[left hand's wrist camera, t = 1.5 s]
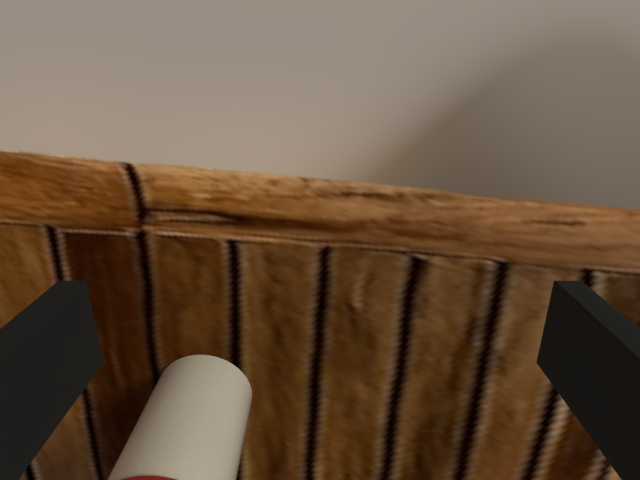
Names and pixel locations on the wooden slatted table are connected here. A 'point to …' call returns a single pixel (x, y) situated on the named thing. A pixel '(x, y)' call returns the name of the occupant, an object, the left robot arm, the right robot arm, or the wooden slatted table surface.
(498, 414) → the wooden slatted table surface
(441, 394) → the wooden slatted table surface
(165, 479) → the lid
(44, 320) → the left robot arm
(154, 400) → the jar
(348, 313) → the wooden slatted table surface
